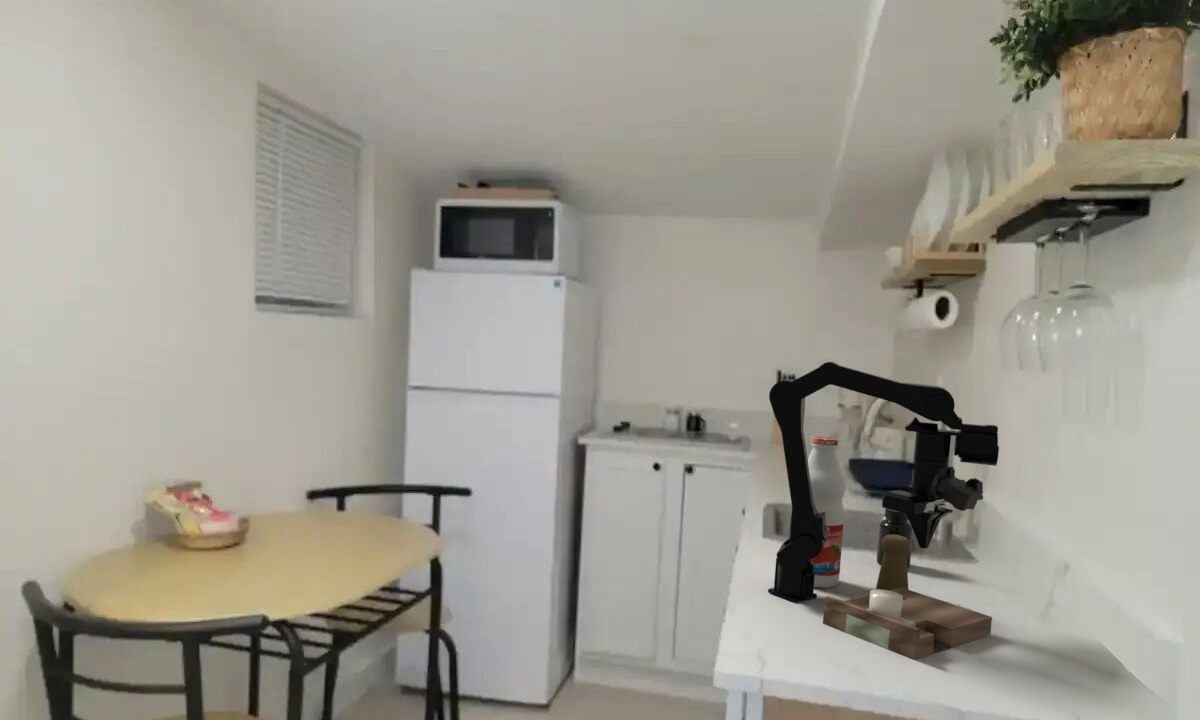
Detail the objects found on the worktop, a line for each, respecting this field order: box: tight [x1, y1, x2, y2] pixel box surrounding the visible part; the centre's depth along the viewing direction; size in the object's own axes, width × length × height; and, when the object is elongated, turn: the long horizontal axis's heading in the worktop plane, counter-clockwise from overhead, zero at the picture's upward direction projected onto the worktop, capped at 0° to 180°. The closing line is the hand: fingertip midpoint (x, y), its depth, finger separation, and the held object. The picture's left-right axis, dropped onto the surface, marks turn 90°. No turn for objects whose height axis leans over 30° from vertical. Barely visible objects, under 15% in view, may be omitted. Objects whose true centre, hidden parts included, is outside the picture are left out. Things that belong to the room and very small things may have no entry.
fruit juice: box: [807, 435, 847, 589], centre depth 167 cm, size 9×9×28 cm
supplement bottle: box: [876, 508, 914, 569], centre depth 183 cm, size 7×7×12 cm
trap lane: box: [822, 588, 993, 660], centre depth 143 cm, size 17×22×4 cm
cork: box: [875, 535, 911, 590], centre depth 162 cm, size 6×6×11 cm
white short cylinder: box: [869, 589, 903, 622], centre depth 138 cm, size 5×5×4 cm
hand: (923, 548), depth 150 cm, fingers closed
